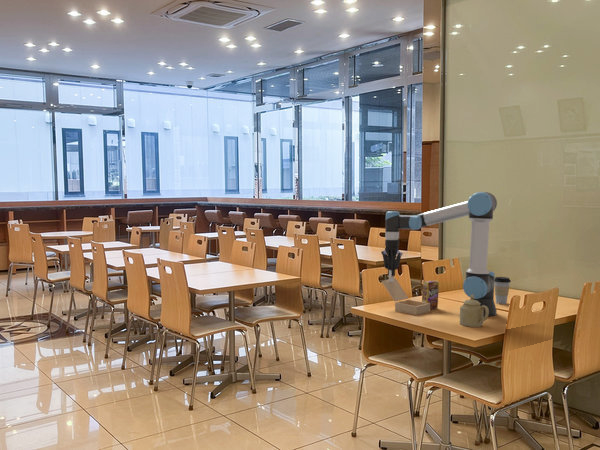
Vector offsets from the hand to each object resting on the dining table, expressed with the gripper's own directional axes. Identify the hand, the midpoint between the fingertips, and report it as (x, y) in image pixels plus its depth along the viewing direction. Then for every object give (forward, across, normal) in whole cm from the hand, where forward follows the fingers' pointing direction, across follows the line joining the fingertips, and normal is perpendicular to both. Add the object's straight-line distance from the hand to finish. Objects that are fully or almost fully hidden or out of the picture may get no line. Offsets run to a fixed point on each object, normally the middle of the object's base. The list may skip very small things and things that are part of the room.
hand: (391, 281), depth 314 cm
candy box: (+15, -16, -14) cm, 26 cm away
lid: (+4, -3, 0) cm, 5 cm away
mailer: (+14, -14, 0) cm, 20 cm away
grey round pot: (+15, -52, +3) cm, 54 cm away
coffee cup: (+15, -35, -61) cm, 72 cm away
